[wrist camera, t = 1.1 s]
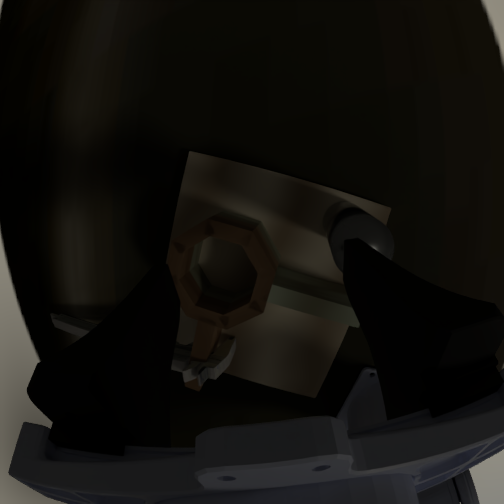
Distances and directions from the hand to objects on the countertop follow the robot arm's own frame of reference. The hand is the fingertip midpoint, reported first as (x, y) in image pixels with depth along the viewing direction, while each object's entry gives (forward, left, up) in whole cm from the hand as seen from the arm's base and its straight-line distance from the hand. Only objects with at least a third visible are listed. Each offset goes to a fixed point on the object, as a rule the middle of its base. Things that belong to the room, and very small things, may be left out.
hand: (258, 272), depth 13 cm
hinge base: (0, +5, -11) cm, 12 cm away
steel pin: (-4, -2, -10) cm, 11 cm away
